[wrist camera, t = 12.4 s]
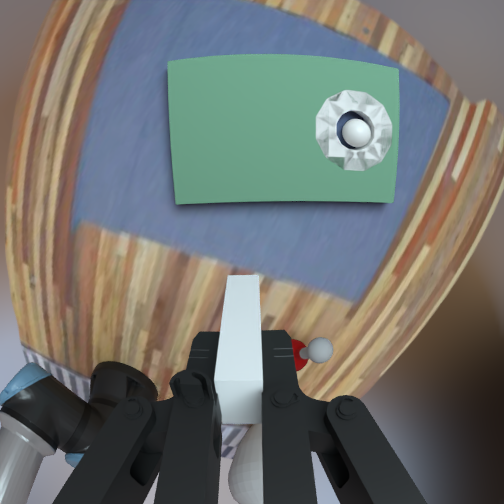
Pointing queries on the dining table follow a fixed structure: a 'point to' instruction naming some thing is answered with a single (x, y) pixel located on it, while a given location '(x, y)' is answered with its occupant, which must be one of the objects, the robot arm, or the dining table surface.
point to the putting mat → (280, 129)
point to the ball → (356, 132)
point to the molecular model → (311, 351)
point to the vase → (248, 468)
